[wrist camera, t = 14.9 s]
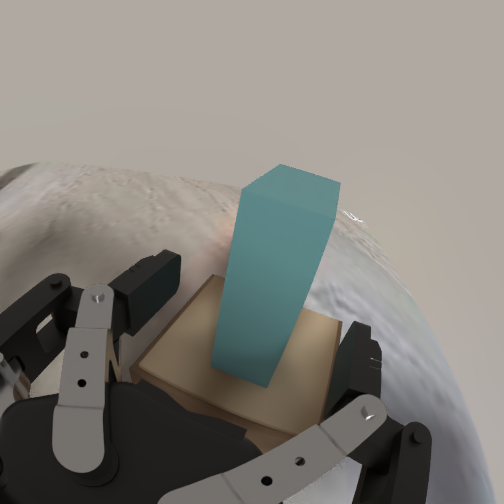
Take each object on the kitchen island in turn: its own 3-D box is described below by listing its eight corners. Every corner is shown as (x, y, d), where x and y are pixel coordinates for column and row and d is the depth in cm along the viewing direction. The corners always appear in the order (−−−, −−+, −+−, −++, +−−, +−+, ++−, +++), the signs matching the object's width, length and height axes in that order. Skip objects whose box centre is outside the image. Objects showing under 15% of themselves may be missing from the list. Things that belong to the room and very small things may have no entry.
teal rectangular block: (290, 322, 23) (340, 182, 17) (266, 388, 17) (335, 218, 11) (245, 306, 24) (280, 164, 18) (210, 365, 18) (241, 189, 12)
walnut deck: (326, 349, 27) (344, 318, 25) (297, 466, 16) (320, 447, 14) (208, 304, 29) (213, 270, 27) (136, 397, 18) (128, 365, 16)
